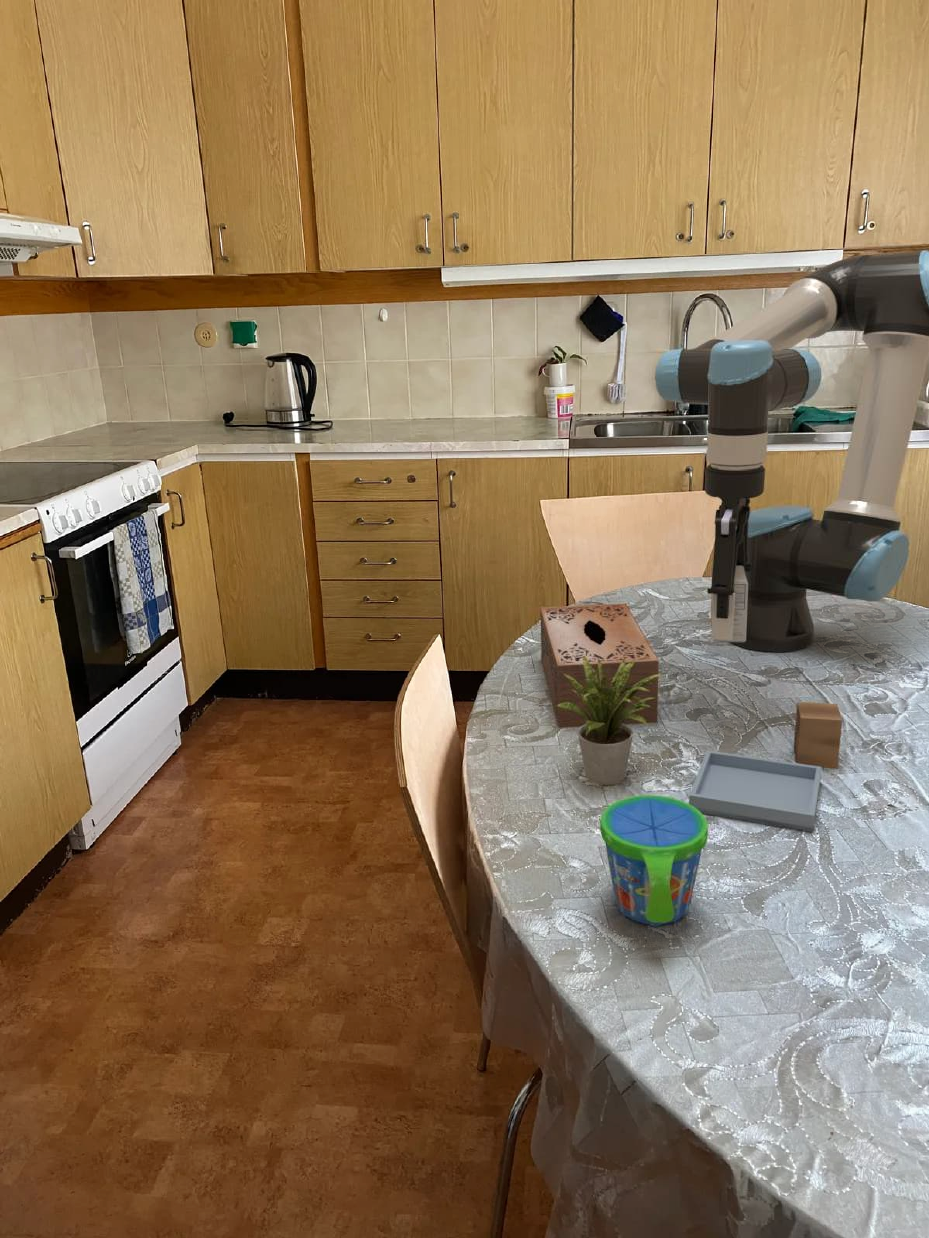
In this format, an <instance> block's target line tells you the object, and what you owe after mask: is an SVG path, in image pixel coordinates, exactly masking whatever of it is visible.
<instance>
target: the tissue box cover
mask: <svg viewBox="0 0 929 1238" xmlns="http://www.w3.org/2000/svg"><path fill="white" fill-rule="evenodd" d="M539 609H540V610H539V611H540V651H541V653H540V656H541V657H540V661H542V662H541V665H542V669H543V673H544V676H545V680H546V684H548V685H547V688H549V689H548V692H550V693H549V696H550V700H551V704H552V708H553V710H554V712H553V713H554V715H556V716H555V719H557V720H556V723H557V726H558V729H559V728H562V729H563V728H578V727H579V728H580V727H581V726H583V725H584V724H587V723H586V721H588V720H587V719H586V718H585V717H584V716H582V715H581V714H580V713H578V712H575V711H572V710H569V709H565V708H561V707H558V706H557V705H558V704H560V703H563V702H570V703H573V704H575V705H576V706H578V707H580V708H581V709H582V710H584V711H585V712H586V713H587V715H588V716H589V717H590V719H591V720H592V717H591V715H590V712H589V711H588V709H587V707H586V706H585V704H584V702H583V699H582V698H583V697H582V695H581V694H580V692H579V691H578V690H577V689H576V688H575V687H574V685H573V684H572V682H571V681H570V680H569V679H568V678H567V677H566V676H565V675H564V674H566V675H569V676H571V677H572V678H573V679H575V680H576V681H577V682H578V683H579V684H580V685H581V686H582V687H583V688H584V690H585V691H586V693H588V689H587V680H585V679H586V675H585V670H584V665H583V657H585V658H586V659H587V660H588V661H589V663H590V665H591V667H592V668H593V669H594V671H595V672H596V675H597V678H598V684H599V686H600V679H599V668H598V658H599V660H600V662H601V664H602V668H603V671H604V674H605V677H606V682H607V692H608V689H609V686H610V684H611V681H612V679H613V677H614V676H615V674H616V672H617V670H618V668H619V666H620V664H621V663H622V661H623V659H624V658H625V666H626V665H627V664H628V663H630V662H631V661H633V660H635V661H634V664H633V666H632V667H631V669H630V672H629V678H628V680H627V682H626V683H625V685H624V687H623V689H625V688H628V687H631V686H633V685H635V684H636V683H638V682H639V681H641V680H643V679H645V678H647V677H650V676H653V675H658V674H659V670H660V669H659V667H660V666H659V665H660V664H659V663H660V660H659V659H658V657H657V655H656V653H655V651H654V650H653V648H652V647H651V644H650V643H649V641H648V639H647V638H646V636H645V634H644V633H643V630H642V629H641V627H640V625H639V624H638V622H637V620H636V618H635V617H634V614H633V613H632V612H631V609H630V608H629V606H628V605H627V603H610V604H609V603H607V604H605V603H604V604H588V605H567V606H548V607H545V606H544V607H540V608H539ZM625 666H624V667H625ZM563 673H564V674H563ZM647 682H657V683H654V684H648V685H645V686H644V687H643V688H645V689H647V690H649V691H645V690H638V691H637V692H636V693H635V694H634V695H633V696H635V697H639V698H640V700H641V699H645V698H654V697H657V698H654V699H649V700H647V701H645V702H646V703H645V702H643V703H644V704H646V705H648V706H650V707H646V708H643V709H640V710H638V711H635V712H633V713H631V714H636V715H640V716H642V717H643V718H644V719H645V720H646V722H647V724H654V723H655V724H656V723H658V712H659V711H658V709H659V708H658V705H659V704H658V703H659V701H658V700H659V676H658V677H655V678H652V679H650V680H649V681H647ZM623 689H622V690H623ZM573 690H574V691H576V692H577V693H578V694H579V695H580V696H581V697H582V698H581V697H580V696H579V695H578V694H577V693H576V692H574V691H573ZM650 691H651V692H650ZM625 693H626V692H625ZM625 693H624V694H625ZM624 694H622V695H621V696H620V697H619V698H618V700H617V703H618V701H619V700H620V699H621V698H622V697H623V695H624ZM630 694H631V693H630ZM630 694H629V695H630ZM629 695H628V696H627V697H629ZM589 697H590V696H589ZM627 697H626V698H627ZM640 700H634V701H632V702H633V703H632V702H629V703H627V704H626V706H625V707H624V709H623V710H622V712H623V711H624V710H625V709H626V708H628V707H629V706H631V705H632V704H635V703H637V702H639V701H640ZM617 703H616V704H617ZM622 712H621V713H622ZM621 713H620V714H621ZM618 717H619V716H618ZM633 720H634V719H631V718H626V719H625V720H624V721H623V722H622V724H625V725H626V724H627V723H629V722H630V723H629V724H627V725H637V724H638V725H639V724H643V723H642V722H640V721H637V720H634V721H633ZM592 721H593V720H592Z"/></svg>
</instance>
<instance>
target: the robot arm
mask: <svg viewBox="0 0 929 1238" xmlns="http://www.w3.org/2000/svg"><path fill="white" fill-rule="evenodd" d="M831 332H832V333H834V332H863V333H862V338H861V341H863V344H865V345H866V347H867V348H868V350H869V352H868V356H867V360H866V366H865V371H864V375H863V380H862V385H861V389H860V393H859V398H858V402H857V406H856V410H855V411H856V412H855V415H854V420H853V425H852V429H851V433H850V438H849V443H848V447H847V451H846V457H845V461H844V465H843V470H842V474H841V479H840V484H839V488H838V493H837V497H836V500H834V502H832V503H831V504H830V505H828V506H827V507H825V508H824V511H823V514H822V519H815V518H814V517H815V516H814V515H815V514H814V511H813V508H811V507H808V506H804V505H803V506H802V505H783V506H781V505H780V506H771V507H769V506H768V507H765V508H758V509H755V510H752V511H751V506H750V504H751V499H754V498H757V497H759V496H762V494H763V493H764V491H765V480H766V479H765V478H766V477H765V476H766V475H765V474H766V467H764V466H763V465H762V464H764V463H765V462H766V461H767V453H768V452H767V451H768V438H769V437H768V435H769V430H768V423H769V412H773V411H777V410H782V409H786V408H787V409H788V408H789V409H790V408H794V407H797V406H798V405H800V404H803V403H806V402H807V401H809V400H810V399H812V398H813V397H814V396H815V394H816V393H817V391H818V390H819V388H820V386H821V381H822V369H821V365H820V362H819V361H818V359H817V358H816V357H815V356H814V354H813V353H812V352H810V351H807V350H805V349H802V348H794V347H795V346H796V345H798V344H800V343H801V342H802V341H805V340H807V339H809V340H811V339H817V338H819V337H821V336H824V335H825V334H826V333H831ZM928 360H929V250H925V249H924V250H922V251H914V252H900V253H899V252H898V253H881V254H861V255H860V254H859V255H854V256H850V257H846V258H843V259H841V260H838V261H837V260H836V261H835V262H832V263H830V264H827V265H825V266H823V267H821V268H818V269H816V270H815V271H813V272H810V273H807V274H806V275H804V276H803V277H801V278H799V279H797V280H796V281H794V282H793V283H791V284H790V285H789V286H788V287H787V288H786V290H785V291H784V292H783V295H782V296H781V297H779V298H778V299H777V300H775V301H773V302H771V303H770V304H767V305H766V306H764V307H763V308H761V309H760V310H759V309H758V310H757V311H756V312H754V313H752V314H751V315H749V316H748V317H746V318H745V319H742V320H741V321H739V322H738V323H736V324H734V325H732V326H731V327H729V328H728V329H726V330H724V331H723V332H721V333H719V334H717V335H716V336H714V337H712V338H710V339H709V340H707V341H705V342H704V343H702V344H700V345H699V346H697V347H694V348H690V349H688V348H683V347H681V348H679V349H676V348H675V349H669V350H666V351H665V352H664V353H663V354H662V355H661V357H660V358H659V359H658V362H657V364H656V367H655V372H654V380H655V388H656V391H657V394H658V395H659V396H660V397H661V398H662V399H663V400H664V401H667V402H673V403H681V404H682V405H687V404H688V405H689V404H690V405H706V406H707V427H706V431H707V434H706V437H705V438H702V441H701V444H702V445H703V446H707V449H706V453H705V454H706V458H705V461H706V462H707V463H709V464H708V465H707V467H705V470H704V473H705V474H704V492H705V494H706V495H707V496H709V497H712V498H718V499H720V500H721V503H720V505H719V506H718V509H716V511H715V516H714V517H715V518H714V519H715V520H714V526H715V527H714V532H715V533H714V547H713V549H714V550H713V560H712V562H713V563H712V568H713V573H712V572H711V586H710V588H709V587H707V589H706V590H707V594H710V595H711V594H713V614H712V627H711V639H712V640H713V639H720V640H730V641H732V640H733V628H734V608H735V593H734V581H735V572H736V566H744V569H745V573H746V577H747V581H748V601H747V627H746V641H745V642H730V643H732V644H734V645H736V646H737V647H738V646H739V647H741V648H744V649H748V650H753V651H761V652H773V653H775V652H776V653H779V652H780V653H782V652H791V651H793V652H794V651H798V650H801V649H804V648H807V647H809V646H810V645H811V644H813V642H814V637H815V636H814V635H815V626H814V623H813V617H812V614H811V610H810V607H809V603H808V600H807V599H808V598H807V590H809V591H815V592H818V593H822V594H823V593H824V594H828V595H833V596H837V597H838V596H839V597H842V598H846V599H847V600H860V601H864V602H865V601H867V602H877V601H879V600H881V599H883V598H885V597H886V596H888V595H889V594H890V593H891V591H892V590H893V589H894V588H895V587H896V585H897V584H898V582H899V581H900V578H901V577H902V574H903V573H904V570H905V568H906V565H907V562H908V559H909V554H910V549H909V546H910V539H909V537H908V536H907V534H905V532H903V531H902V530H900V529H901V524H902V523H901V522H902V520H901V518H900V517H899V516H898V514H897V513H896V511H895V508H894V507H895V502H896V499H897V495H898V490H899V485H900V481H901V477H902V473H903V469H904V464H905V459H906V455H907V450H908V447H909V443H910V438H911V433H912V430H913V426H914V420H915V417H916V412H917V407H918V405H919V404H918V403H919V398H920V396H921V395H920V394H921V390H922V385H923V381H924V377H925V374H926V373H925V372H926V368H927V364H928ZM719 584H725V585H719Z"/></svg>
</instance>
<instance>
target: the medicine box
mask: <svg viewBox="0 0 929 1238" xmlns="http://www.w3.org/2000/svg"><path fill="white" fill-rule="evenodd" d="M712 573H713V567H712V568H711V574H712ZM719 585H725V584H719ZM734 593H735V608H734V628H733V640H732V641H730V640H720V639H712V641H713V642H716V643H717V642H718V643H731V642H745V641H746V627H747V601H748V581H747V577H746V573H745V569H744V566H736V572H735V581H734ZM710 595H711V596H710V597H711V599H710V627H711V628H712V614H713V594H710Z"/></svg>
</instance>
